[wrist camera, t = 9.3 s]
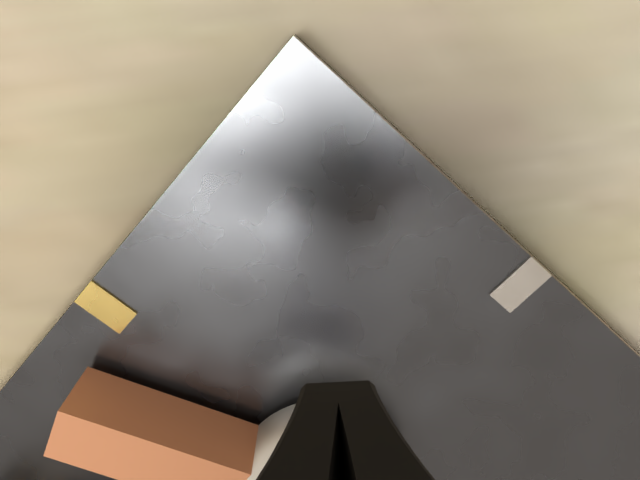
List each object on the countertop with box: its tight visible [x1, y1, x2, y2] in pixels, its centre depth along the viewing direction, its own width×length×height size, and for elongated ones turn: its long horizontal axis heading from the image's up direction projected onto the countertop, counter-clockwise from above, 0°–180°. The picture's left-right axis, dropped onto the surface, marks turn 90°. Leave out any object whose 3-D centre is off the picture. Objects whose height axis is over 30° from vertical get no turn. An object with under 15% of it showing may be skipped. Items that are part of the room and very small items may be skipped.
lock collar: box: [43, 367, 296, 480], centre depth 20 cm, size 12×6×2 cm, turn 67°
